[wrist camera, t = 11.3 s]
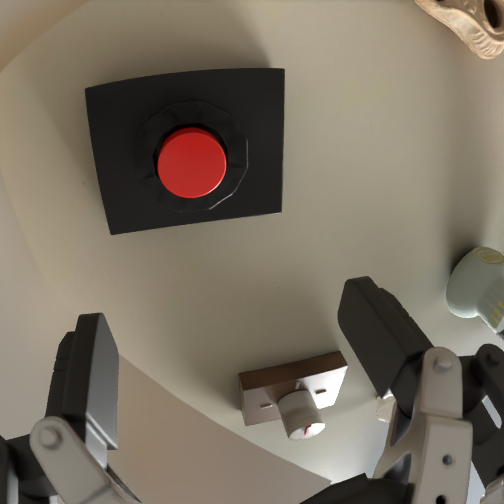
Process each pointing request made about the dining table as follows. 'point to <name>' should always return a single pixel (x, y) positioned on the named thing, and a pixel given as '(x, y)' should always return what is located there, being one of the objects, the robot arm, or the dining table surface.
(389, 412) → the muffin
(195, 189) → the light button
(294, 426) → the dimmer knob
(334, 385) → the dimmer panel
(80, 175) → the dining table surface
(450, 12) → the pottery oil lamp
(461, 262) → the air freshener
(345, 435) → the dining table surface
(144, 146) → the switch block
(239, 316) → the dining table surface
